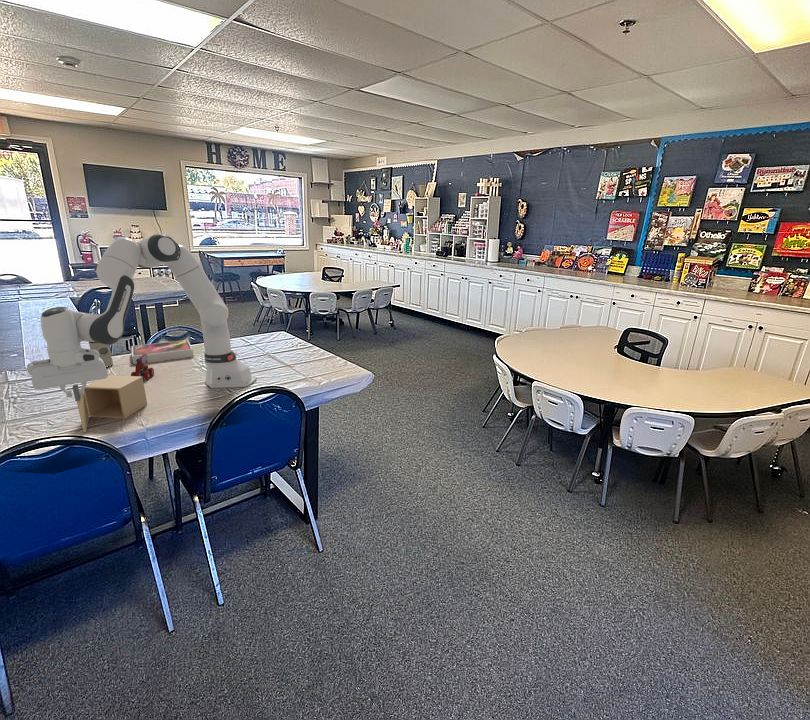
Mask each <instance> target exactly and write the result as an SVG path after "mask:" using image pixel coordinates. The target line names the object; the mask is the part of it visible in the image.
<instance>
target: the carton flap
mask: <svg viewBox="0 0 810 720" xmlns="http://www.w3.org/2000/svg"><path fill="white" fill-rule="evenodd" d="M81 388H82V387H80V388H79V383H75V384H72V391H73V392H72V393H73V396H74V400H75V402H76V403H77V404H76V405H77V409H78V413H79V418H80V422H81V426H82V430H83V431H82V432H83V433H87V429H88V424H89V419H90V417H89V413H88V409H87V405H86V400H85V396H84V394H83V395H79V391H78V390H79V389H81Z"/></svg>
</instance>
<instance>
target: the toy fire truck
mask: <svg viewBox="0 0 810 720" xmlns="http://www.w3.org/2000/svg"><path fill="white" fill-rule="evenodd" d="M136 362H137V363H136V364H135V369H134V370H135V371H132V372H131V374H130V376H141V377H143V380H145V381H148V380H150V379H151V378H150V377H153V376H154V374H155V369H154V367H149V363H148V362H147V355H146V354H143V355H142V356H140V357H139V358H138V359H137V360H136Z"/></svg>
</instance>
